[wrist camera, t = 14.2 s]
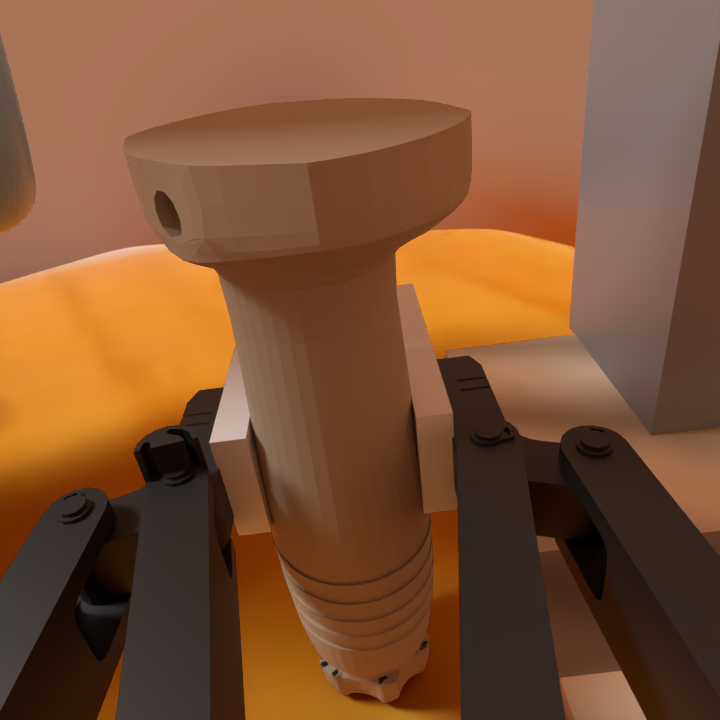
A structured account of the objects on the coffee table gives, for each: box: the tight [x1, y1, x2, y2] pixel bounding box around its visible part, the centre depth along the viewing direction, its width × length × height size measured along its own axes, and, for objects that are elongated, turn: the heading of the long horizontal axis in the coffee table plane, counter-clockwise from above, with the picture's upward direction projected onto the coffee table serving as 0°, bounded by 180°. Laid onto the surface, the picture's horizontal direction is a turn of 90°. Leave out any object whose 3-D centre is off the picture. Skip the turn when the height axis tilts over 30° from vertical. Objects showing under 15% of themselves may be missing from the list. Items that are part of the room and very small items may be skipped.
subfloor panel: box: [446, 334, 720, 720], centre depth 20 cm, size 24×13×1 cm, turn 3°
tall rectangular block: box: [569, 0, 720, 435], centre depth 23 cm, size 9×6×15 cm
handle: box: [123, 98, 472, 703], centre depth 14 cm, size 5×6×15 cm
